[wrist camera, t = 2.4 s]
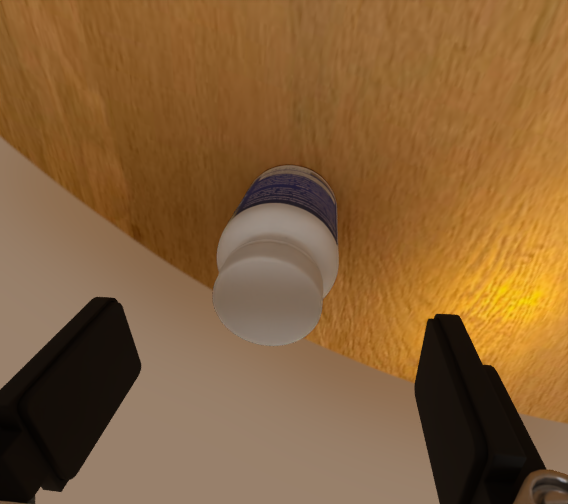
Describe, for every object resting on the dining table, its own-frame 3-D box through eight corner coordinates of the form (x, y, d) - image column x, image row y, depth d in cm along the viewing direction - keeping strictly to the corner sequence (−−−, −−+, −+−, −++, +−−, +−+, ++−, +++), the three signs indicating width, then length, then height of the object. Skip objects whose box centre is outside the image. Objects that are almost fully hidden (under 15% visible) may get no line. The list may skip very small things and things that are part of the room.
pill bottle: (238, 167, 19) (176, 241, 12) (334, 158, 18) (337, 233, 11) (253, 252, 22) (211, 359, 14) (339, 247, 21) (344, 359, 13)
